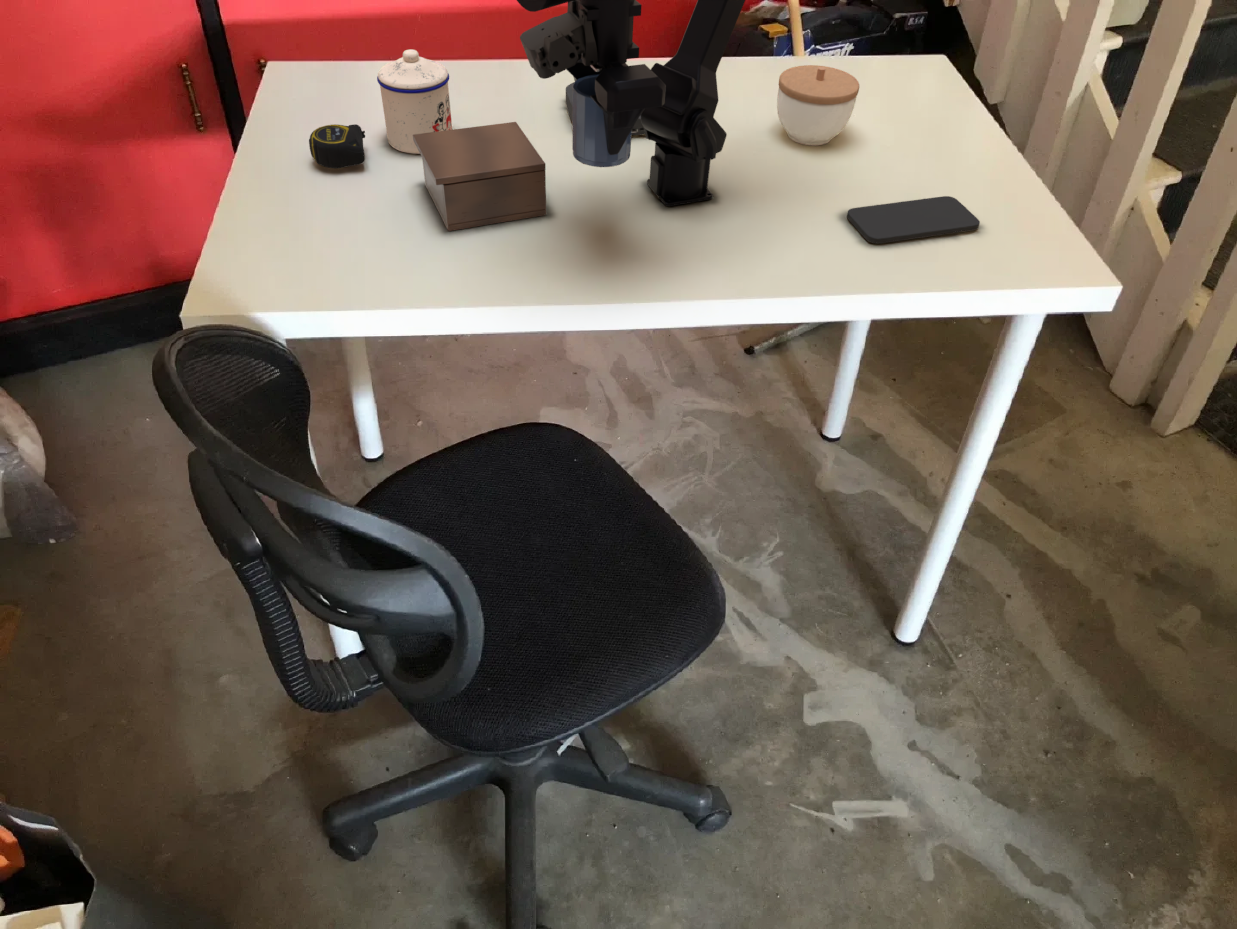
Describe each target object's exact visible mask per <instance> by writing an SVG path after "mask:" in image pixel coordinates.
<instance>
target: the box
mask: <svg viewBox="0 0 1237 929" xmlns="http://www.w3.org/2000/svg"><path fill="white" fill-rule="evenodd" d="M421 161H422V167H423V168H422V169H423V177H424V184H425V187H426V189H427V191H428V193H429V196H430V198H431V199H432V201H433V203H434V205H435V208H436V210H437V211H438V214H439V215H440V217H441V219H442V221H443V223H444V225H445V228H446V230H447V232H451V231H453V232H454V231H457V230H458V231H459V230H464V229H470V228H477V227H483V226H487V225H494V224H501V223H505V222H513V221H519V220H525V219H530V218H536V217H542V216H546V215H547V186H546V185H547V184H546V183H547V182H546V181H547V180H546V178H547V177H546V169H545V170H540V171H533V172H526V173H519V174H512V175H505V176H498V177H491V178H484V179H477V180H470V181H463V182H456V183H449V184H442V185H436V184H435V182H434V180H433V178H432V176H431V174H430V172H429V170H428V168H427V166H426V164H425V162H424V160H423V158H422V157H421Z"/></svg>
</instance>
